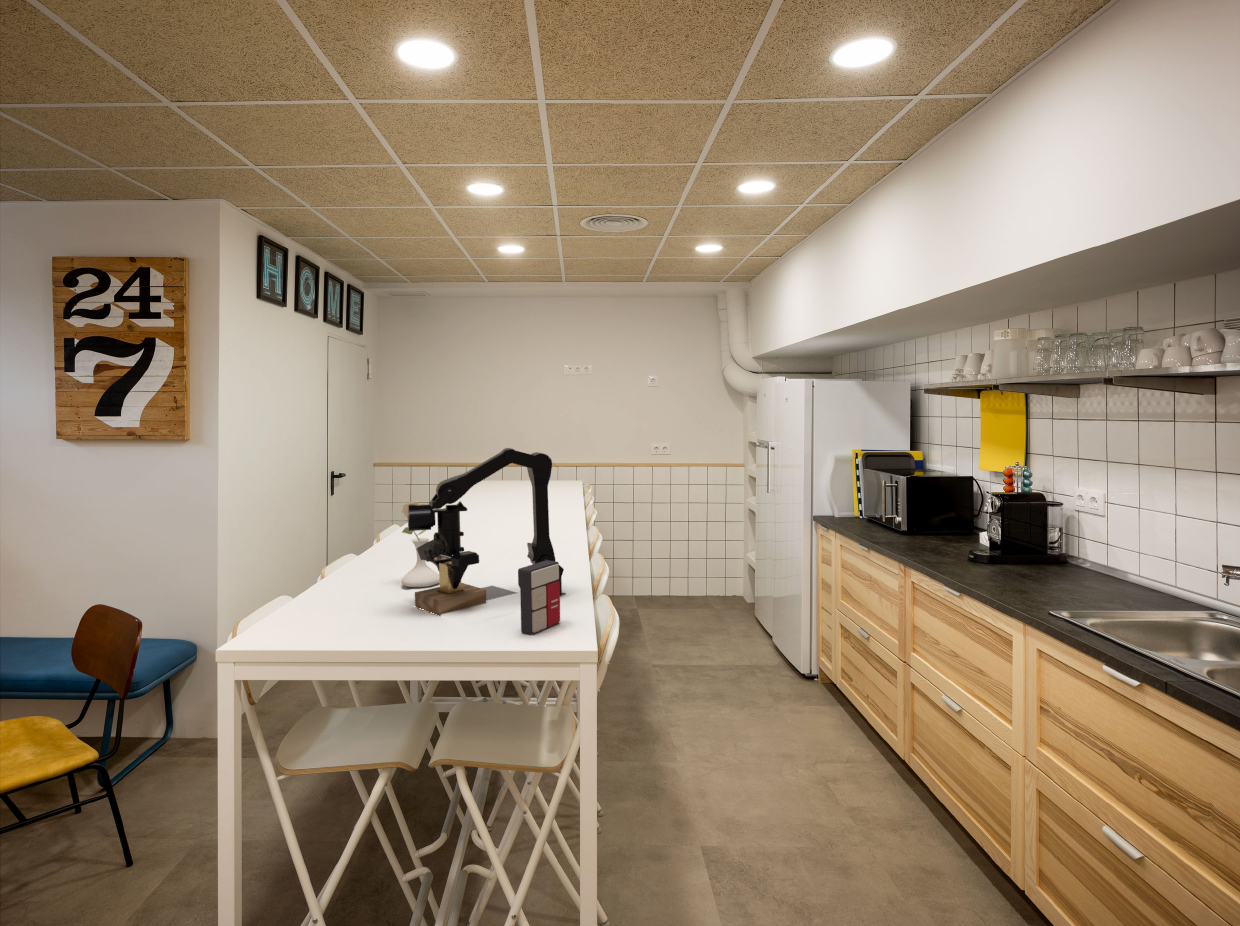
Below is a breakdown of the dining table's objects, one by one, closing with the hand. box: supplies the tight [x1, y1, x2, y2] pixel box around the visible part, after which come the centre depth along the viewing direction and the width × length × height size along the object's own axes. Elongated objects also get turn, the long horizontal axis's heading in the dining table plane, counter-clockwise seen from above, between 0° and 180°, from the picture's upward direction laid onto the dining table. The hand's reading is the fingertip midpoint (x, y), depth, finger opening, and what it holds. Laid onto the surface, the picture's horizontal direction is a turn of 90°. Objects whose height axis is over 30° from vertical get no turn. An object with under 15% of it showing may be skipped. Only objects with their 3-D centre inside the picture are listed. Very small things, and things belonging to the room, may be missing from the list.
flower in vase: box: [400, 501, 440, 588], centre depth 202 cm, size 13×11×25 cm
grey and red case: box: [517, 560, 561, 635], centre depth 161 cm, size 11×4×15 cm, turn 148°
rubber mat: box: [481, 585, 518, 602], centre depth 192 cm, size 12×12×1 cm
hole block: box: [414, 582, 487, 616], centre depth 181 cm, size 12×14×4 cm
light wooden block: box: [438, 561, 462, 595], centre depth 181 cm, size 4×4×10 cm
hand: (450, 587), depth 181 cm, fingers closed on light wooden block, 4 cm apart
